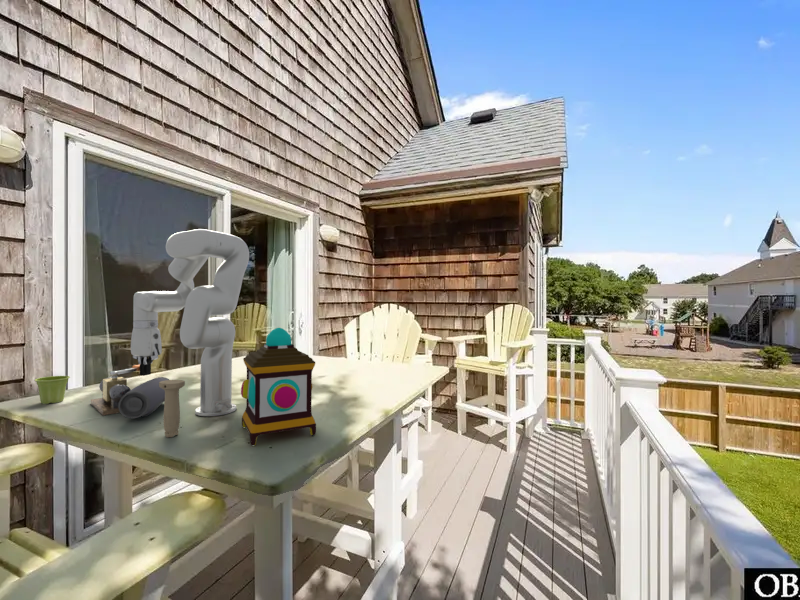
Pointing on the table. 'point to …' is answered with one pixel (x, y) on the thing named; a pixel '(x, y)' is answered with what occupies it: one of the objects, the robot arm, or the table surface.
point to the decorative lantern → (277, 388)
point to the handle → (171, 406)
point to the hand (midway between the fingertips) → (145, 374)
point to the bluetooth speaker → (142, 399)
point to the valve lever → (134, 368)
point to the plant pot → (52, 388)
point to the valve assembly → (110, 395)
